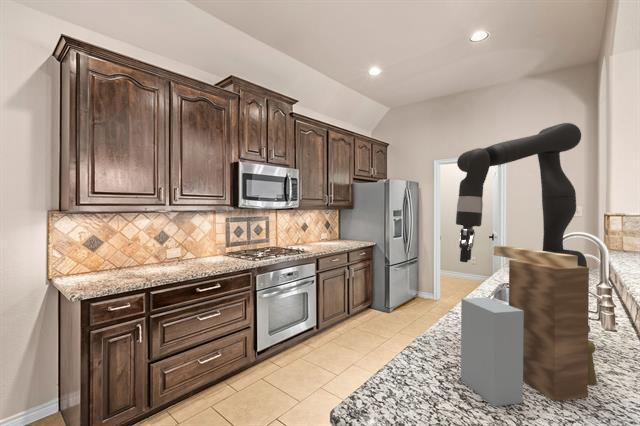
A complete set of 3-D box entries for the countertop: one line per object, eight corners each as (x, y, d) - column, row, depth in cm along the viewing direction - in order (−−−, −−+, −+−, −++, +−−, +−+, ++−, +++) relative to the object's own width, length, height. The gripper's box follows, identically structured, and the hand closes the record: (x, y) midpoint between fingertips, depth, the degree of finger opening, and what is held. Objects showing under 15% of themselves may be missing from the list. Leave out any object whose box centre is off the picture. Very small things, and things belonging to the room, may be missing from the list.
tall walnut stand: (587, 396, 77) (588, 267, 77) (554, 401, 75) (555, 268, 75) (537, 368, 91) (538, 259, 91) (508, 372, 89) (509, 260, 89)
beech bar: (577, 268, 76) (577, 255, 76) (567, 268, 76) (567, 256, 76) (501, 254, 100) (501, 245, 100) (493, 255, 99) (493, 245, 99)
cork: (602, 386, 82) (603, 344, 82) (576, 384, 83) (576, 342, 83) (587, 375, 88) (588, 336, 88) (563, 372, 89) (563, 334, 89)
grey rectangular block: (522, 402, 74) (523, 310, 74) (493, 406, 73) (494, 312, 73) (486, 376, 86) (487, 297, 86) (460, 379, 84) (461, 298, 84)
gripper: (480, 210, 93) (476, 264, 93) (483, 212, 105) (480, 260, 105) (453, 209, 97) (449, 261, 97) (459, 211, 109) (456, 257, 109)
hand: (465, 260), depth 101 cm, fingers open, 8 cm apart
